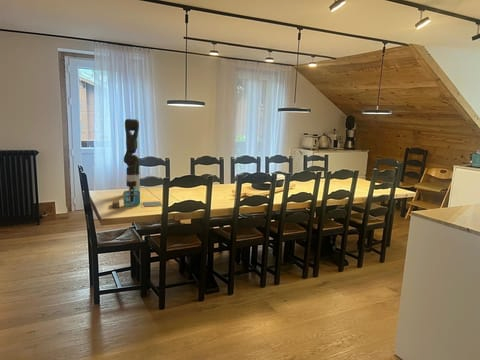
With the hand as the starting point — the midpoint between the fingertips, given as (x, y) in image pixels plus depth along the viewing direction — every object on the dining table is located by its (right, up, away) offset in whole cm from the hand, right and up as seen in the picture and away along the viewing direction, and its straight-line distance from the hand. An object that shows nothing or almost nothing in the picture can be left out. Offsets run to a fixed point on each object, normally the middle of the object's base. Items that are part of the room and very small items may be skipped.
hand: (131, 200), depth 290 cm
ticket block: (-12, -4, -3) cm, 13 cm away
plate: (+15, -4, +6) cm, 17 cm away
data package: (0, -4, +1) cm, 4 cm away
